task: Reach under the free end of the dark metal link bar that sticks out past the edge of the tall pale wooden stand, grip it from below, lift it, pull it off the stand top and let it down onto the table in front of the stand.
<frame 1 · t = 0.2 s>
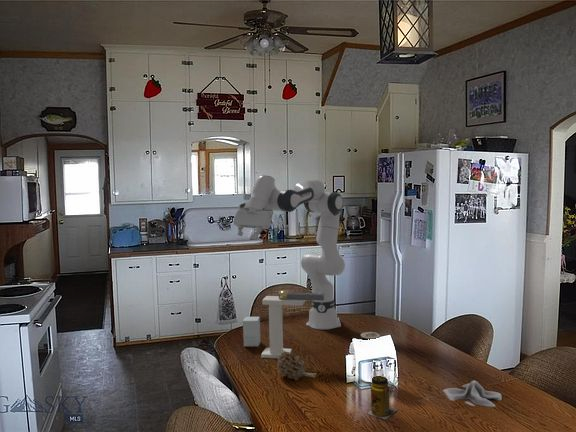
hand: (247, 236, 224), 54 cm above the table, tool tilted 30°, fingers open, 8 cm apart
pine cone: (298, 380, 200), on the table
travel mug: (370, 380, 199), on the table
supplement box: (252, 344, 244), on the table
condiment: (382, 412, 171), on the table
link bar: (301, 299, 224), point 26 cm above the table, touching stand
cloth: (476, 399, 181), on the table
stand: (285, 355, 228), on the table
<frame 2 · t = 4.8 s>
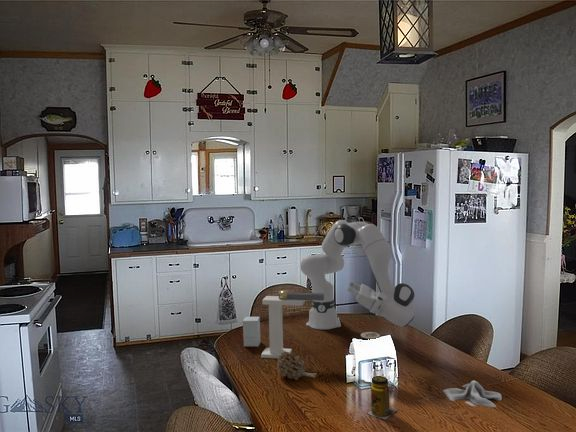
hand: (349, 285, 219), 32 cm above the table, tool pointing upward, fingers open, 8 cm apart
nothing on the table moved.
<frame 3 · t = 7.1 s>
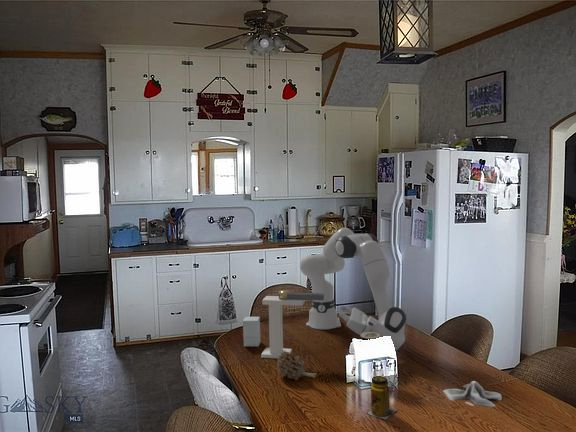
hand: (340, 310, 221), 22 cm above the table, tool pointing upward, fingers open, 8 cm apart
nothing on the table moved.
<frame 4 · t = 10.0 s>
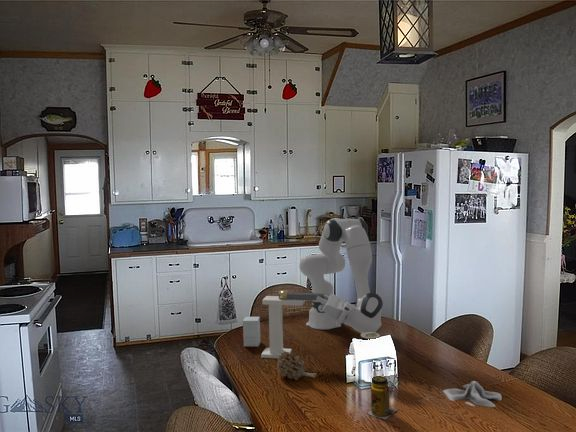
hand: (317, 295, 222), 28 cm above the table, tool pointing upward, fingers closed on link bar, 3 cm apart
link bar: (301, 299, 224), point 26 cm above the table, touching gripper, stand
everything else where it was.
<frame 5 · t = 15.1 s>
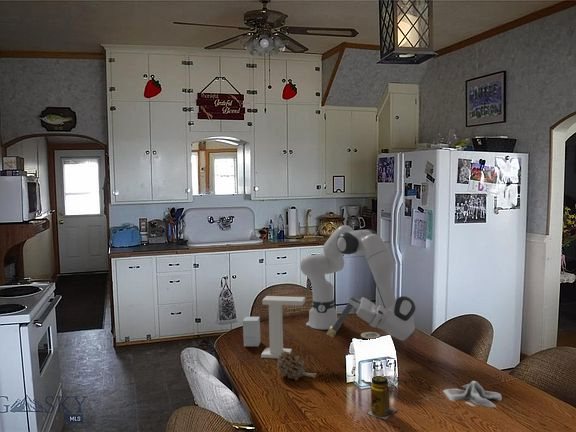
hand: (349, 299, 219), 26 cm above the table, tool pointing upward, fingers closed on link bar, 3 cm apart
link bar: (344, 319, 221), point 18 cm above the table, tilted 58°, touching gripper
everything else where it was.
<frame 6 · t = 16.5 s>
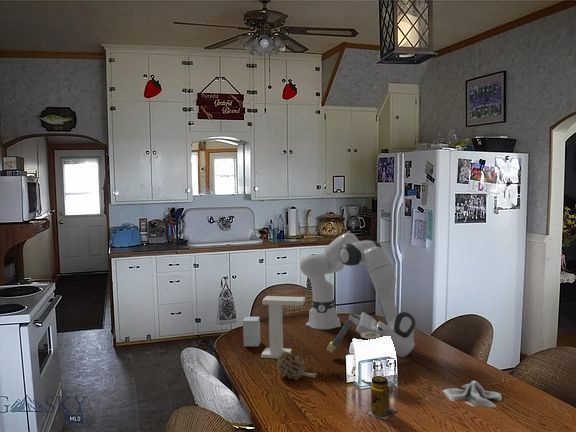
hand: (349, 315, 220), 19 cm above the table, tool pointing upward, fingers closed on link bar, 3 cm apart
link bar: (344, 334, 221), point 11 cm above the table, tilted 58°, touching gripper
everything else where it was.
when the fingers open (19 cm above the table, at t = 16.6 s): link bar drops 11 cm, on the table.
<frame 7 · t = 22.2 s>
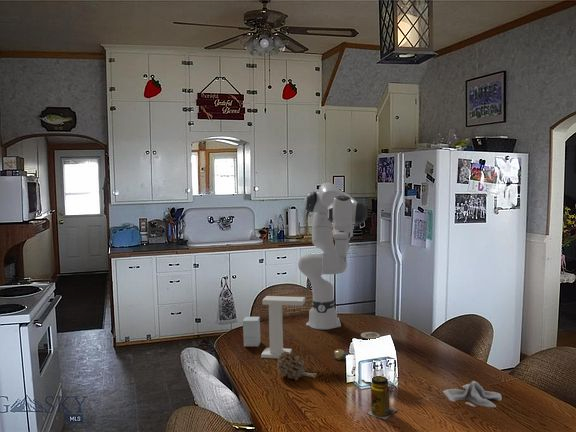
hand: (343, 263, 225), 41 cm above the table, tool pointing down, fingers open, 8 cm apart
link bar: (357, 359, 221), on the table
everything else where it was.
at the end: link bar on the table; link bar inside the target area (7.4 cm from its centre), on the table; the gripper is holding nothing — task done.
